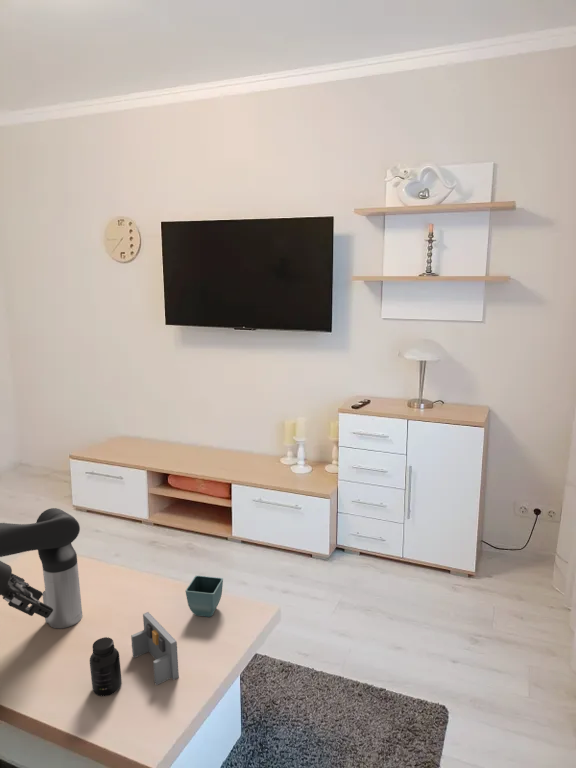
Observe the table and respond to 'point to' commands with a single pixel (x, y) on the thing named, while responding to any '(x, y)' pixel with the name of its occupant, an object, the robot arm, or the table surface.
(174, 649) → the panel
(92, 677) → the supplement bottle
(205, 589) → the flower pot
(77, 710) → the table surface
